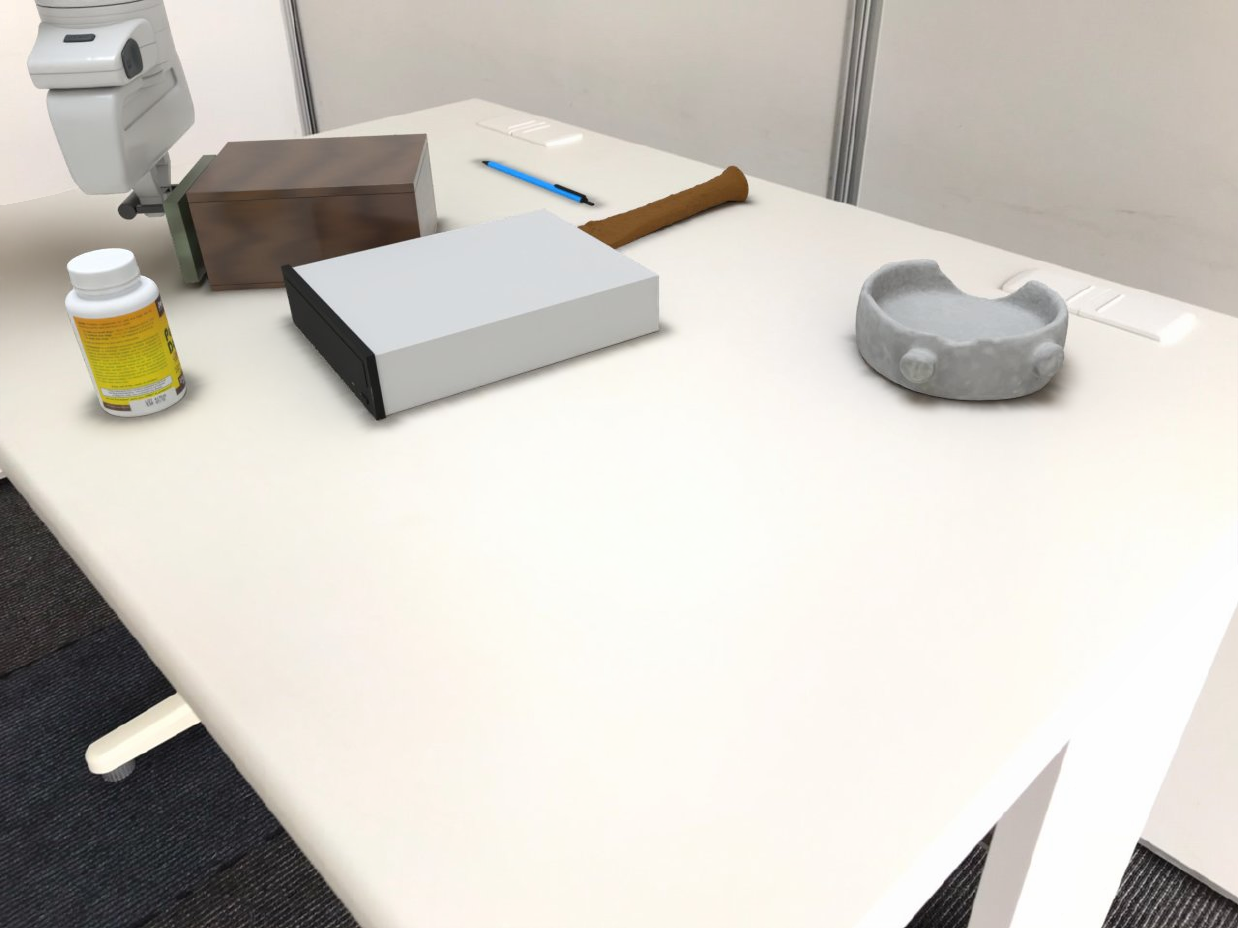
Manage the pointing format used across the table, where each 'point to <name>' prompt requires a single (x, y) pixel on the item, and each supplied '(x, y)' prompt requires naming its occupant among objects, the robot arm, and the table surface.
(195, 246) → the drawer
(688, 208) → the primitive tool
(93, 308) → the supplement bottle
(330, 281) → the disc drive
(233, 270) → the cabinet
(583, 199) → the pen
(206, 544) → the table surface
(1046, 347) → the dish
